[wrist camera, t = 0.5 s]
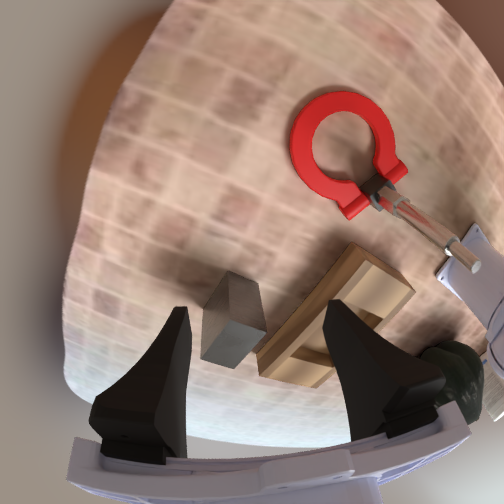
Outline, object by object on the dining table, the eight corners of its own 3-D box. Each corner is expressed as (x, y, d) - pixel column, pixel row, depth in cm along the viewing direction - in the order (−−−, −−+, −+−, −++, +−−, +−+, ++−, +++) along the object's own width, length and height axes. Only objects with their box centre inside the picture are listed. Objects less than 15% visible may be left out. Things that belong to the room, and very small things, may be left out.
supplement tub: (464, 380, 46) (489, 426, 33) (467, 364, 42) (497, 416, 29) (493, 357, 44) (520, 400, 31) (499, 338, 40) (531, 385, 27)
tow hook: (264, 136, 19) (336, 224, 23) (311, 174, 8) (416, 331, 11) (349, 72, 17) (408, 164, 20) (472, 51, 6) (524, 226, 9)
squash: (371, 416, 32) (434, 464, 25) (444, 343, 26) (510, 402, 19) (391, 372, 44) (443, 414, 36) (444, 311, 38) (498, 358, 31)
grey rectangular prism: (258, 283, 25) (267, 332, 20) (231, 319, 27) (233, 369, 22) (228, 270, 24) (230, 319, 19) (203, 309, 26) (200, 359, 21)
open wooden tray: (402, 274, 26) (416, 292, 24) (310, 369, 33) (316, 388, 30) (351, 241, 24) (365, 259, 21) (256, 354, 30) (259, 375, 27)
